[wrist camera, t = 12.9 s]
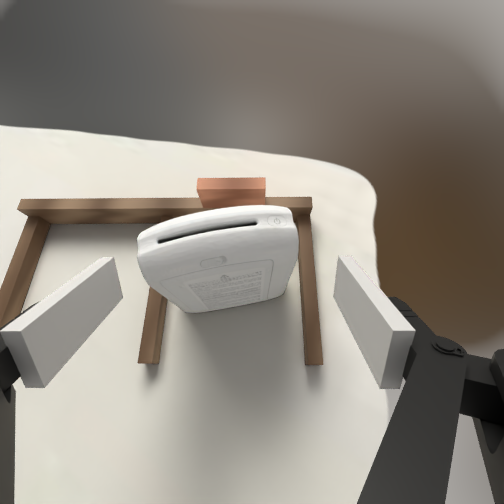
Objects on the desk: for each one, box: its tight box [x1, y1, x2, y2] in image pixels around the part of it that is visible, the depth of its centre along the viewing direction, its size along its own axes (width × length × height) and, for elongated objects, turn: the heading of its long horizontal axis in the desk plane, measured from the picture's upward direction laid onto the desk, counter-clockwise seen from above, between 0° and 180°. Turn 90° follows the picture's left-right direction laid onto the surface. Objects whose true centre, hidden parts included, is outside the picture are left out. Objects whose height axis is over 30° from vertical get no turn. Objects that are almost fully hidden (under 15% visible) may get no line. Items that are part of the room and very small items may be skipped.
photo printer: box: [137, 205, 299, 313], centre depth 20 cm, size 10×4×12 cm, turn 101°
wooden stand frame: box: [0, 178, 323, 365], centre depth 23 cm, size 29×15×6 cm, turn 90°
